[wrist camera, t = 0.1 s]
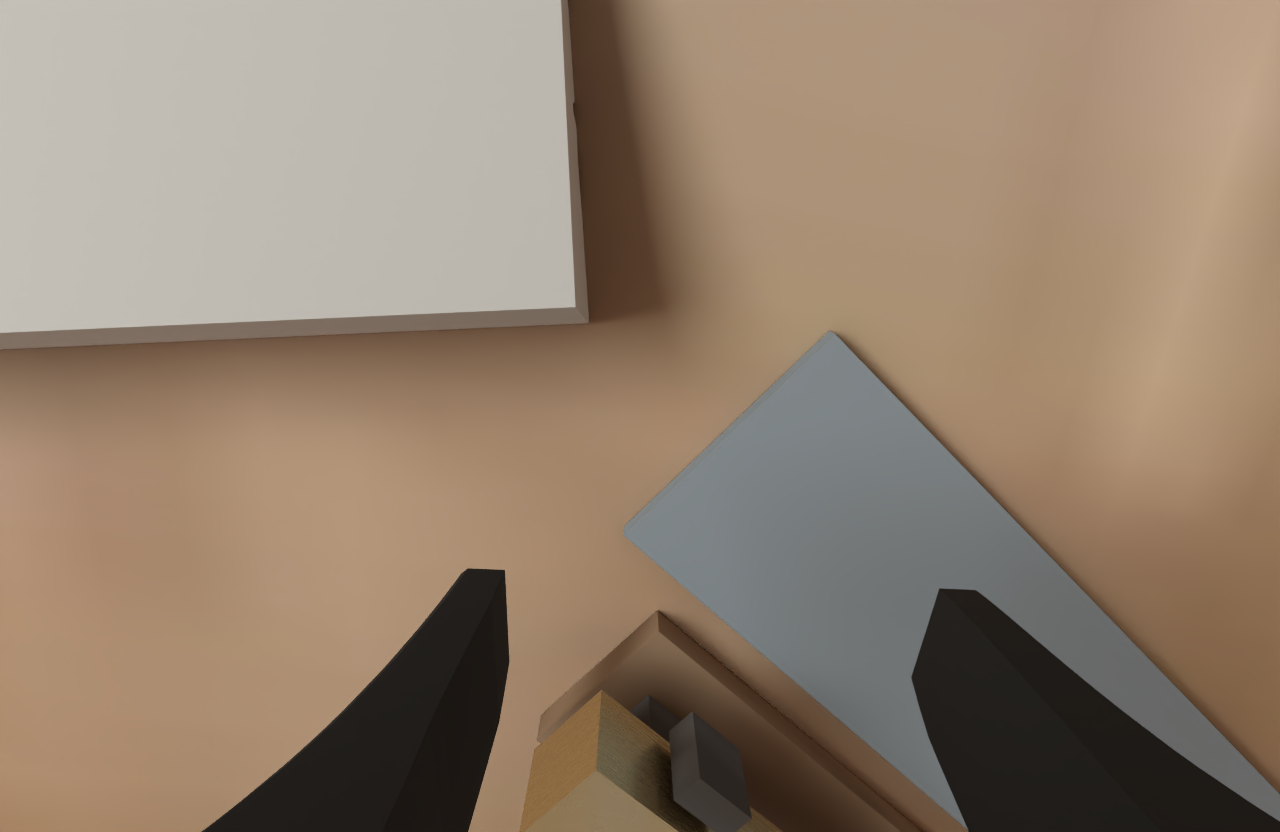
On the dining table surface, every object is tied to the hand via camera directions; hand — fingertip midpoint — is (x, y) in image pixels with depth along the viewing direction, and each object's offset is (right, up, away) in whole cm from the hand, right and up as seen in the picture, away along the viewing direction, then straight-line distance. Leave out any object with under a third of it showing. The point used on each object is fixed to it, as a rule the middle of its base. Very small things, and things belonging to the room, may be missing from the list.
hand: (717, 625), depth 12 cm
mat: (+12, -7, +13) cm, 19 cm away
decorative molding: (-20, +11, +8) cm, 24 cm away
